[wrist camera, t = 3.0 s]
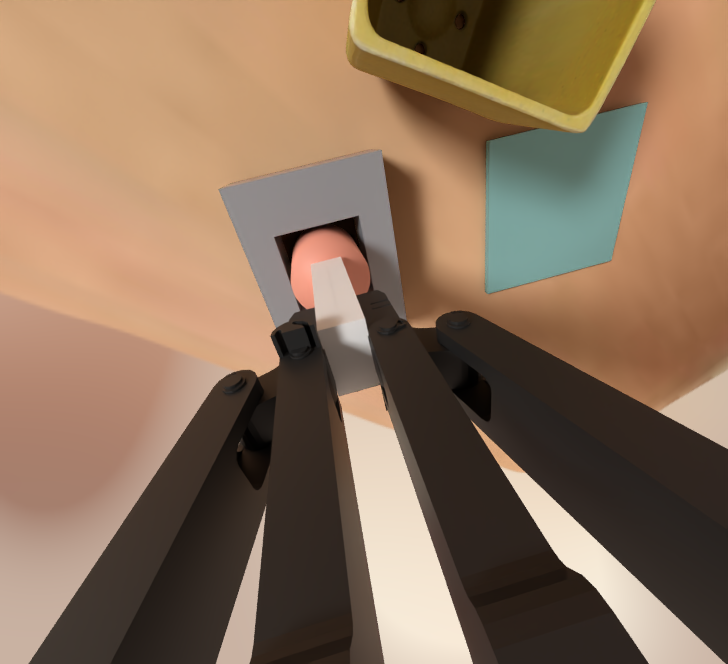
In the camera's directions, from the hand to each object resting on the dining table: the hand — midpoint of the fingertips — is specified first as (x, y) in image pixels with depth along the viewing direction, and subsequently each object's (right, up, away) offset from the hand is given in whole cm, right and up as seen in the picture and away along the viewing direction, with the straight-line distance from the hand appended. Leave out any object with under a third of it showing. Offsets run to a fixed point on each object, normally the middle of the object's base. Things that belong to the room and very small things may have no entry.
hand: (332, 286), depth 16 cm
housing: (-1, +3, +5) cm, 5 cm away
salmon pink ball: (-1, +2, +3) cm, 4 cm away
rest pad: (+15, +6, +6) cm, 17 cm away
